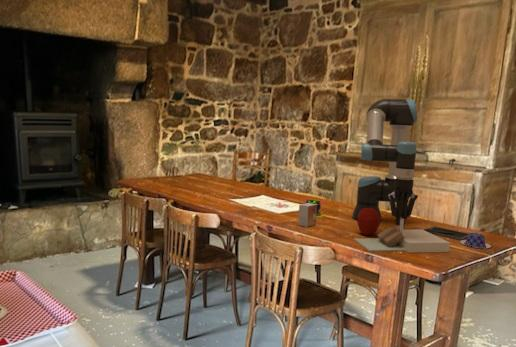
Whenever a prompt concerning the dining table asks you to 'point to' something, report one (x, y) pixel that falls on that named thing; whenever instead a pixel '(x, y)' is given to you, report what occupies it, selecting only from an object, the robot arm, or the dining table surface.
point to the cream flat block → (423, 242)
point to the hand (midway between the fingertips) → (399, 232)
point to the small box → (307, 214)
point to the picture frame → (447, 233)
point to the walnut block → (390, 236)
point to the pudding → (476, 241)
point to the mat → (377, 245)
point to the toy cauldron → (317, 206)
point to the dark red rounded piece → (368, 221)
